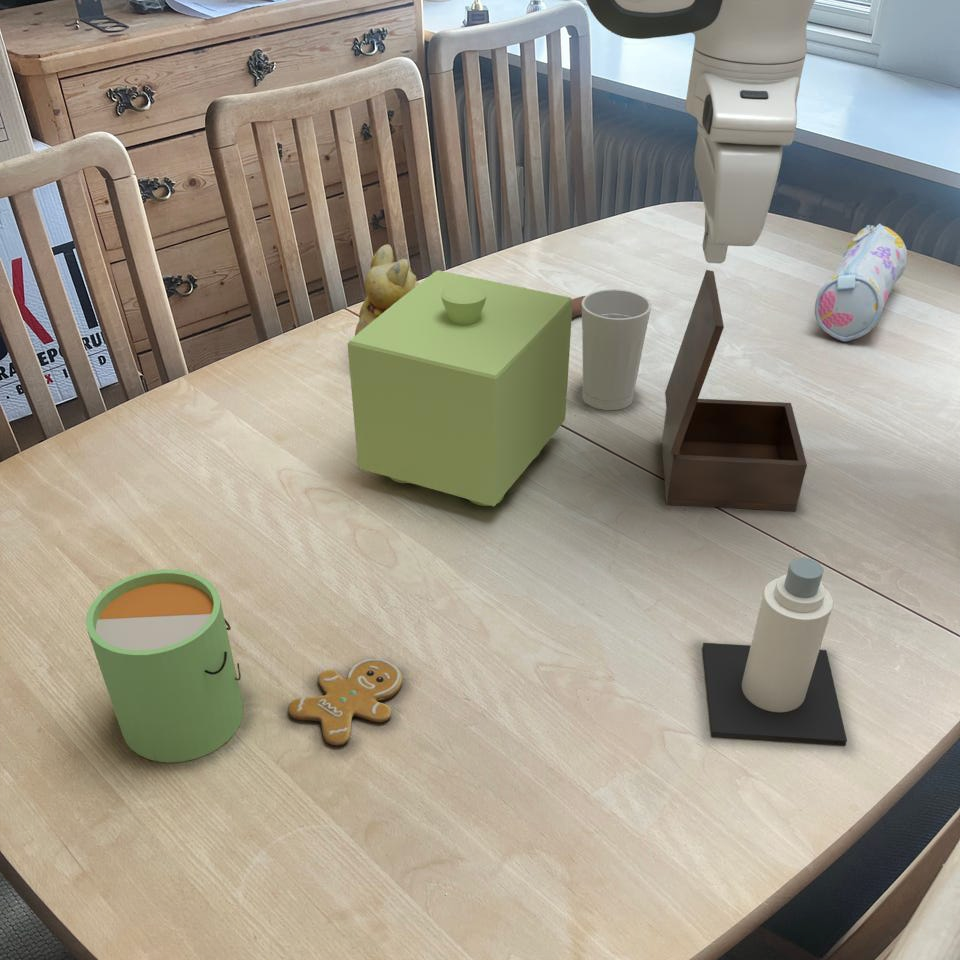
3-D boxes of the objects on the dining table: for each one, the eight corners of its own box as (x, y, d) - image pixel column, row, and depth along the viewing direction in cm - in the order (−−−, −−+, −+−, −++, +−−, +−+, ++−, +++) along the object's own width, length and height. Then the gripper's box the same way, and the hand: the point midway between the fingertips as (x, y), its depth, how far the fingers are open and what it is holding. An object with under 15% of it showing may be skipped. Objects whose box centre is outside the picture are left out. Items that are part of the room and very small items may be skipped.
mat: (825, 654, 95) (826, 649, 94) (845, 745, 86) (847, 740, 86) (702, 647, 95) (703, 642, 95) (711, 736, 87) (712, 731, 87)
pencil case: (839, 279, 154) (854, 214, 147) (899, 291, 151) (918, 224, 144) (804, 338, 140) (820, 269, 133) (871, 352, 137) (890, 282, 131)
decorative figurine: (435, 373, 133) (432, 257, 123) (379, 392, 129) (371, 274, 119) (396, 344, 139) (389, 230, 128) (341, 361, 135) (330, 246, 125)
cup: (630, 378, 132) (640, 286, 124) (648, 410, 126) (660, 316, 118) (568, 383, 131) (574, 291, 123) (584, 416, 125) (591, 321, 117)
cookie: (275, 700, 89) (360, 639, 94) (276, 708, 89) (360, 647, 95) (342, 749, 85) (427, 682, 90) (343, 756, 85) (427, 690, 91)
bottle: (800, 670, 92) (836, 548, 83) (809, 714, 88) (847, 591, 79) (738, 666, 93) (767, 544, 83) (744, 710, 89) (775, 587, 79)
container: (440, 406, 127) (435, 242, 113) (564, 438, 121) (575, 270, 108) (359, 487, 114) (343, 313, 100) (494, 526, 109) (497, 348, 95)
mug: (242, 758, 85) (218, 651, 77) (111, 766, 85) (73, 658, 77) (254, 653, 95) (234, 547, 86) (137, 659, 94) (105, 553, 86)
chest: (780, 447, 120) (791, 402, 116) (795, 511, 111) (807, 465, 107) (661, 441, 121) (667, 396, 117) (666, 504, 112) (673, 458, 108)
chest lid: (713, 271, 107) (706, 269, 107) (724, 326, 98) (715, 325, 98) (671, 394, 117) (664, 392, 117) (677, 455, 107) (669, 453, 107)
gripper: (692, 55, 93) (670, 213, 103) (716, 125, 78) (686, 302, 87) (764, 59, 93) (734, 216, 102) (801, 129, 78) (762, 306, 87)
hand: (712, 257), depth 95 cm, fingers closed
